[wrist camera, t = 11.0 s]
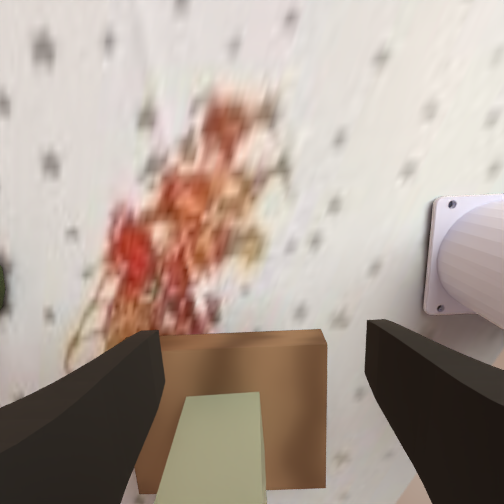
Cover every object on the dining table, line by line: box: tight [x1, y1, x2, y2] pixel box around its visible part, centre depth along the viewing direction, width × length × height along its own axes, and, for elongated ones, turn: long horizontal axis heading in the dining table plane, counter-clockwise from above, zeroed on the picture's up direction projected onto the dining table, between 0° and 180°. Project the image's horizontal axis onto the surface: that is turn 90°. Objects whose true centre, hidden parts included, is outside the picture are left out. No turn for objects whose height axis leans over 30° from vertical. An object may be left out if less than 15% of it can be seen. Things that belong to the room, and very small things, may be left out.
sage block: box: [154, 392, 267, 504], centre depth 17 cm, size 5×5×8 cm
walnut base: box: [125, 329, 327, 494], centre depth 22 cm, size 14×12×2 cm
